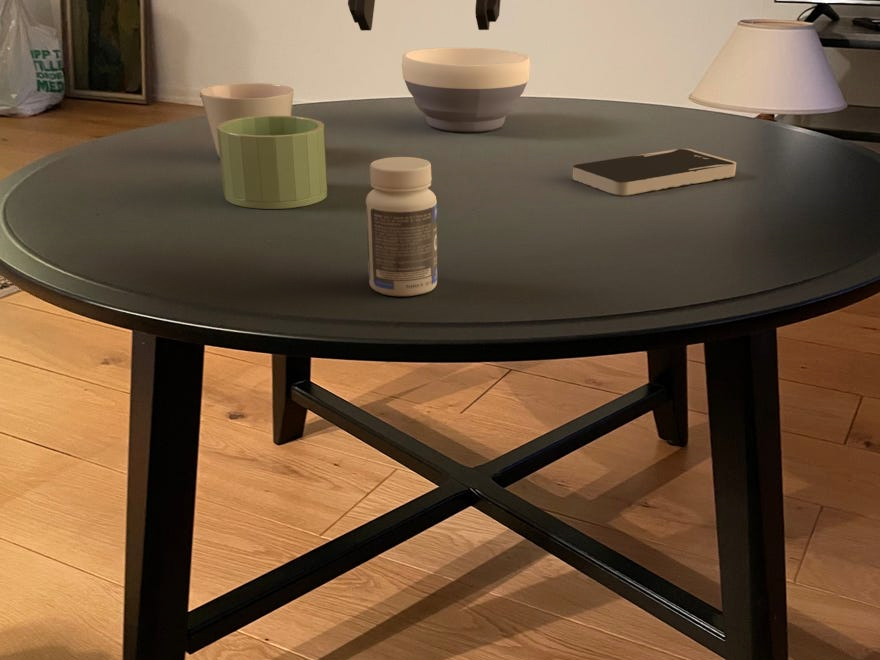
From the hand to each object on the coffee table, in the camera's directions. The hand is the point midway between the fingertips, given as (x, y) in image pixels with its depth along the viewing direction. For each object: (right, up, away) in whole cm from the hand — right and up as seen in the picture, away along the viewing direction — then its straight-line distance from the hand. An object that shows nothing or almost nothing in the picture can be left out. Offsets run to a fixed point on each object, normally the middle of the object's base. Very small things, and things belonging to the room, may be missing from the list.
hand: (422, 23), depth 72 cm
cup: (-14, -7, +19) cm, 25 cm away
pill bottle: (-1, -19, -1) cm, 19 cm away
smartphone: (+21, -3, +27) cm, 35 cm away
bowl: (+2, +8, +47) cm, 48 cm away
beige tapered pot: (-19, 0, +32) cm, 37 cm away
